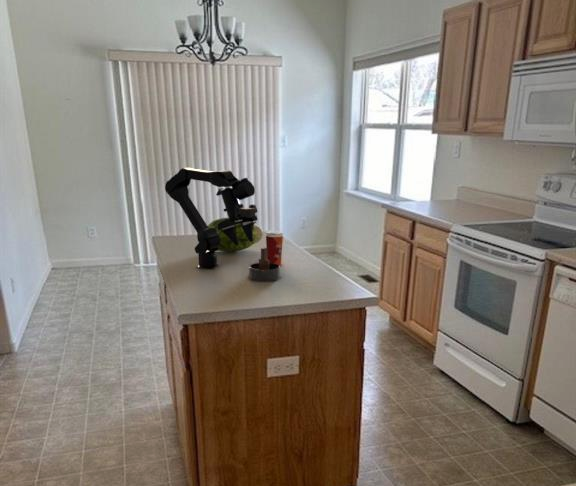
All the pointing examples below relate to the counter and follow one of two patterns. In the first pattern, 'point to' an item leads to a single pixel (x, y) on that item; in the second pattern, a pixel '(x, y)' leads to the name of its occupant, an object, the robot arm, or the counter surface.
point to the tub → (264, 272)
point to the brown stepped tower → (263, 260)
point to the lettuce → (241, 236)
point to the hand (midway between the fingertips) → (244, 243)
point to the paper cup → (274, 246)
